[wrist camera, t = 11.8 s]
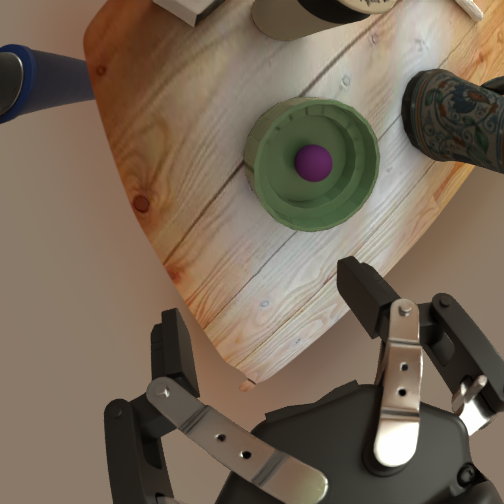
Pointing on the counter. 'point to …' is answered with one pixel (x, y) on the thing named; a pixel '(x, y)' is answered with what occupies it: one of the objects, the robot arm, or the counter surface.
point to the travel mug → (311, 15)
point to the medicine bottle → (190, 9)
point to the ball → (313, 163)
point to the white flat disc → (471, 9)
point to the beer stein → (456, 118)
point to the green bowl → (283, 156)
